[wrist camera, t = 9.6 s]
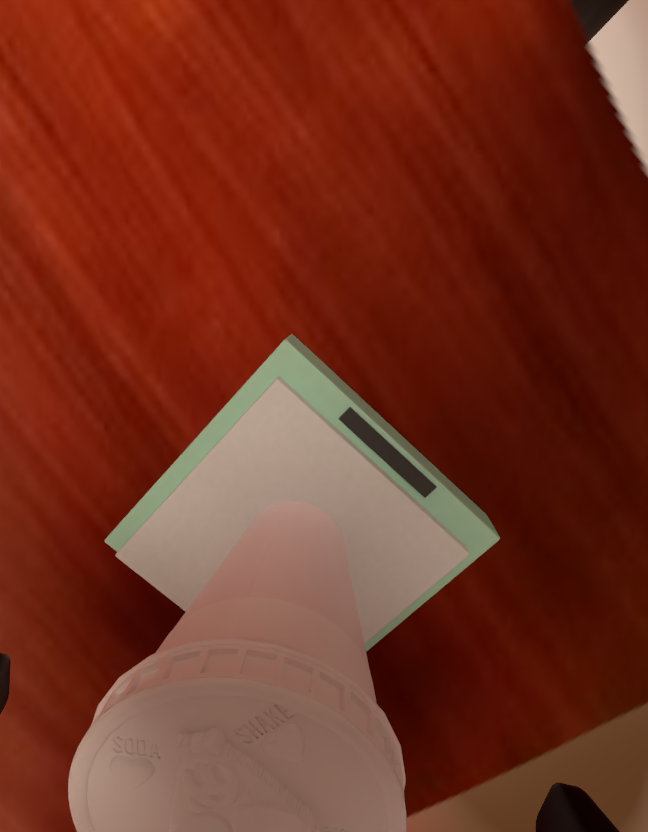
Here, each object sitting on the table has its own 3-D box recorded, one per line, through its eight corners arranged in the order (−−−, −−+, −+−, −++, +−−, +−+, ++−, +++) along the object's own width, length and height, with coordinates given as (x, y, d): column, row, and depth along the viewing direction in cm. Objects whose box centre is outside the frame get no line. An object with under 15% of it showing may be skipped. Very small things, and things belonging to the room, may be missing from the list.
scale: (291, 333, 19) (282, 340, 16) (487, 515, 20) (506, 547, 18) (125, 518, 21) (95, 549, 19) (310, 667, 23) (305, 715, 20)
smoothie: (242, 633, 19) (-16, 1449, 6) (186, 490, 18) (-340, 1136, 4) (399, 599, 18) (526, 1455, 5) (354, 446, 17) (361, 1074, 3)
